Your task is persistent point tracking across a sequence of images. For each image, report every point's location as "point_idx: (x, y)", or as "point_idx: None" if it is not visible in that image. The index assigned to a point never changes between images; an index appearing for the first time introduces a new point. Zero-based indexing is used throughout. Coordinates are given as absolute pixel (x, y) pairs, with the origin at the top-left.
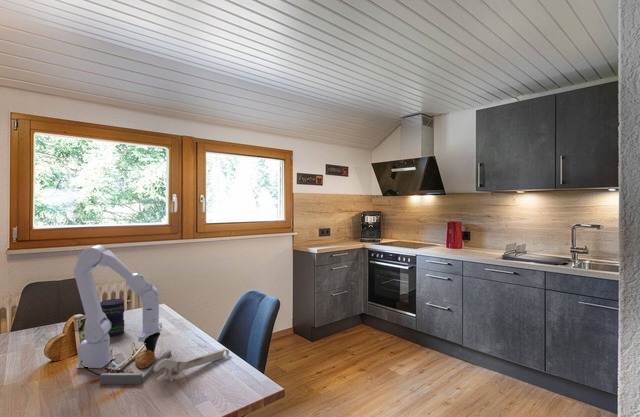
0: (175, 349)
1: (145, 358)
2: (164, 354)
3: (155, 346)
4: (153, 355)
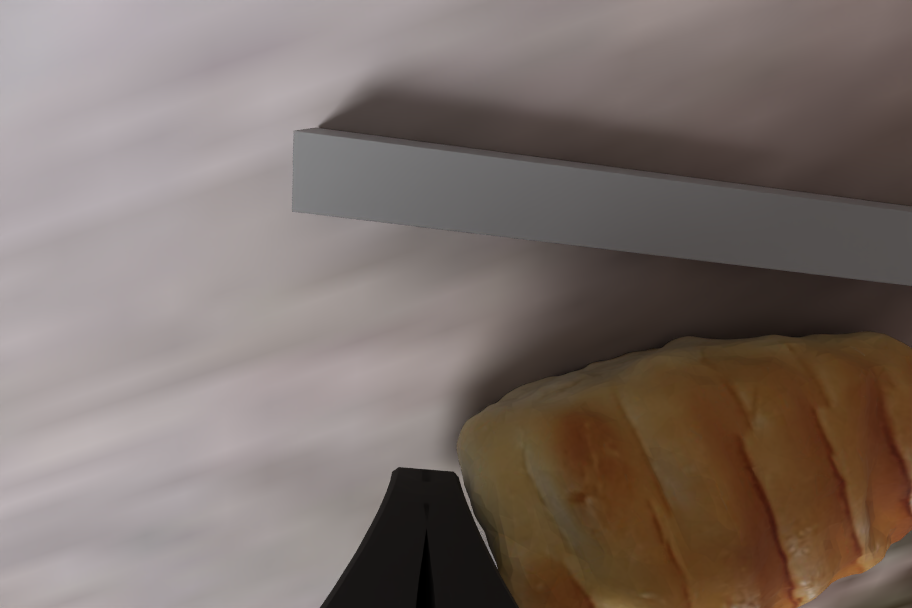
0: (62, 96)
1: (867, 510)
2: (542, 213)
3: (377, 535)
4: (718, 413)
